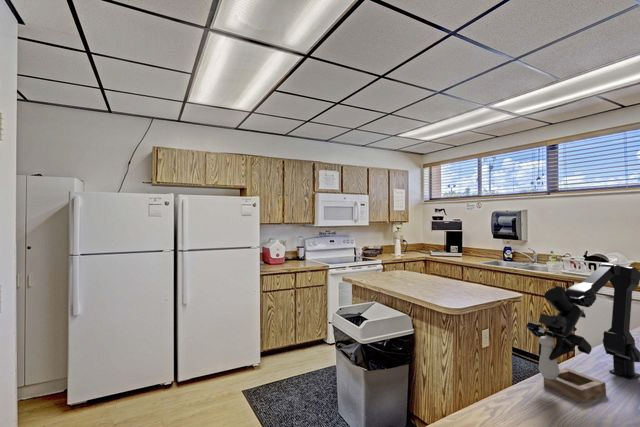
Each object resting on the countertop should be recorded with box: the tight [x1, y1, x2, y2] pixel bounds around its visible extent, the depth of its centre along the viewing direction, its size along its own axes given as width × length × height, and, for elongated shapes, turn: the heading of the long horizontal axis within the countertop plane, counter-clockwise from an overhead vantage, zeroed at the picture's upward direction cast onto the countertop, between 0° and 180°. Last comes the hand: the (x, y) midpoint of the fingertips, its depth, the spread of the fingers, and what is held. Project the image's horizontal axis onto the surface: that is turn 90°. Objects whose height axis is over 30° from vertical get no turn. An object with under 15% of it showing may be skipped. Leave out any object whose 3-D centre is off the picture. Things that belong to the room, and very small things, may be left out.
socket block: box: [543, 367, 607, 404], centre depth 109 cm, size 12×12×4 cm
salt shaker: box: [538, 336, 560, 380], centre depth 108 cm, size 6×6×13 cm
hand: (544, 357), depth 108 cm, fingers closed on salt shaker, 3 cm apart
